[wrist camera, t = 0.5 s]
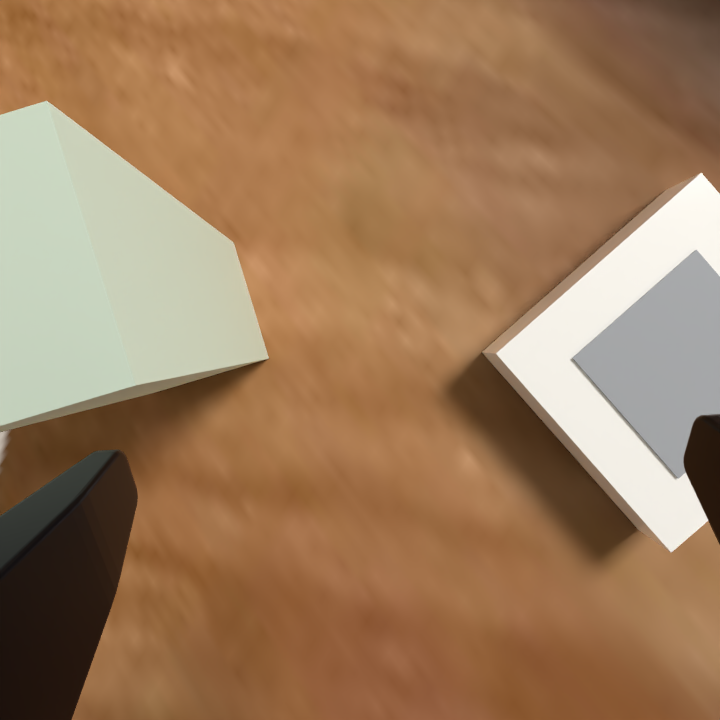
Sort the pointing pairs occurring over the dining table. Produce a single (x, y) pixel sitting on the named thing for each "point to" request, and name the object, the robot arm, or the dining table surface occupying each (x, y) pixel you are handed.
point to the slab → (631, 357)
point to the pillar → (105, 278)
